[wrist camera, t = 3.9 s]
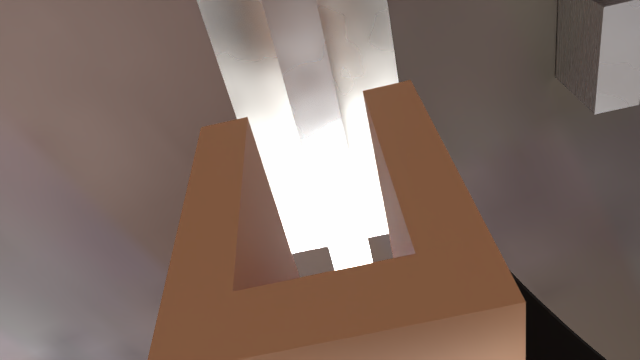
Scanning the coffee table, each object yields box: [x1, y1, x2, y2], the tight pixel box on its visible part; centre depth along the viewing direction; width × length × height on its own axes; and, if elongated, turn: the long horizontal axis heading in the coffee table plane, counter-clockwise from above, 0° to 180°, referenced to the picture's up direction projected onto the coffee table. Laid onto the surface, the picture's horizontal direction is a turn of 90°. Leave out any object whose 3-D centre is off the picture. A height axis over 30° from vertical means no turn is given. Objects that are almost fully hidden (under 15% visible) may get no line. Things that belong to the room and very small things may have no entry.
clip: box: [148, 80, 526, 360], centre depth 10 cm, size 4×7×6 cm, turn 12°
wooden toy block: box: [555, 0, 640, 114], centre depth 15 cm, size 1×3×2 cm, turn 12°
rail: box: [197, 0, 399, 270], centre depth 14 cm, size 5×18×3 cm, turn 12°
